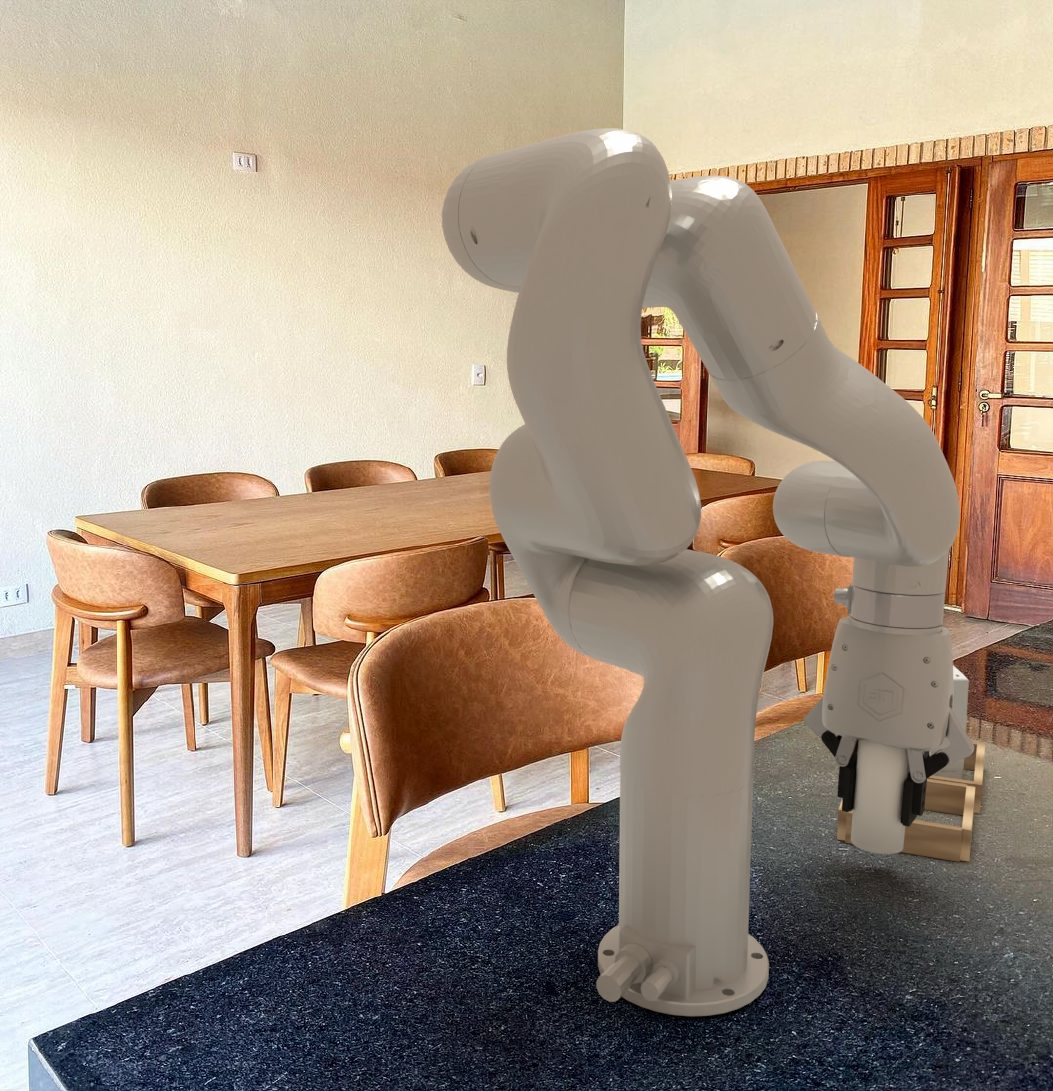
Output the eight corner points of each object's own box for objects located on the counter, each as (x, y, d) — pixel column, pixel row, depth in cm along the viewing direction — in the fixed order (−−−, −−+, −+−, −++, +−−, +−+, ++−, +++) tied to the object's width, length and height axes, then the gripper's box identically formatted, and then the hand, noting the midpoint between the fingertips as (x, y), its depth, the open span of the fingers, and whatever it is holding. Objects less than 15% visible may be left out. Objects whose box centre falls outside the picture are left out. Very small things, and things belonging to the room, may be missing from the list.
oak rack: (976, 864, 97) (978, 833, 97) (829, 840, 102) (831, 810, 102) (983, 769, 119) (985, 743, 119) (862, 752, 124) (864, 727, 124)
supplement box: (943, 769, 119) (950, 658, 117) (963, 796, 112) (971, 678, 110) (874, 767, 120) (880, 657, 118) (889, 794, 113) (896, 677, 111)
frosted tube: (896, 859, 92) (908, 722, 90) (842, 845, 94) (853, 712, 92) (910, 841, 96) (921, 709, 94) (858, 828, 98) (868, 700, 96)
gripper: (785, 602, 93) (771, 804, 96) (994, 631, 84) (972, 853, 87) (813, 590, 99) (799, 780, 102) (1010, 615, 90) (990, 823, 93)
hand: (879, 812), depth 94 cm, fingers closed on frosted tube, 4 cm apart
